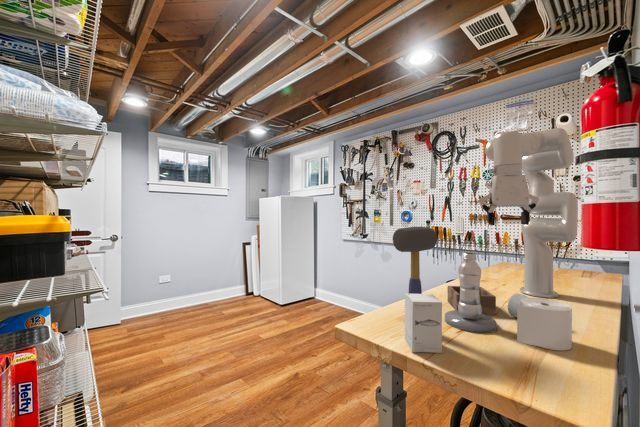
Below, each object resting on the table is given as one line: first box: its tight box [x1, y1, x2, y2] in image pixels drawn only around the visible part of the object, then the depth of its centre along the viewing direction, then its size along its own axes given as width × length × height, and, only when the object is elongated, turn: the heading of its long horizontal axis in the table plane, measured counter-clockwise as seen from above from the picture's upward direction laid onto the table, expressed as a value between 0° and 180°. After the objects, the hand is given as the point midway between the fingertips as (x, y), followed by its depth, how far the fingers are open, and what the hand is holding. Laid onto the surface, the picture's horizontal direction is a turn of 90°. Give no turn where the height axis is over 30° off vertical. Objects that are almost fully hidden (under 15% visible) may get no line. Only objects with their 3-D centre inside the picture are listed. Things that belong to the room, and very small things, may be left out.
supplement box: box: [404, 293, 443, 354], centre depth 71 cm, size 7×7×13 cm
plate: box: [444, 309, 498, 334], centre depth 85 cm, size 14×14×2 cm
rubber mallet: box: [392, 226, 438, 294], centre depth 83 cm, size 12×8×30 cm, turn 119°
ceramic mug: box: [507, 293, 531, 319], centre depth 88 cm, size 11×8×8 cm
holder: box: [447, 285, 497, 315], centre depth 99 cm, size 12×12×6 cm
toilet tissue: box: [516, 296, 573, 351], centre depth 73 cm, size 11×12×10 cm
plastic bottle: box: [457, 252, 482, 319], centre depth 86 cm, size 6×7×20 cm
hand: (508, 224), depth 90 cm, fingers open, 9 cm apart
